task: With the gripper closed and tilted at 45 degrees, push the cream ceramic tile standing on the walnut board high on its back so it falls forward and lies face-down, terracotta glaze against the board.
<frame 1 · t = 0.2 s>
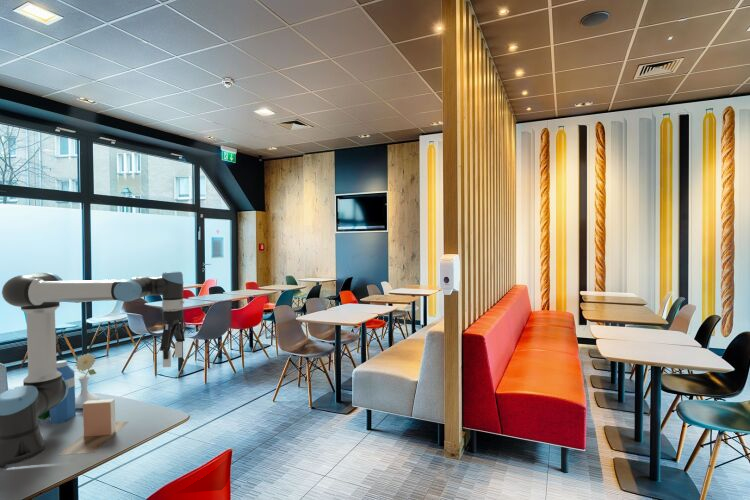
hand: (173, 362, 163), 28 cm above the table, tool pointing down, fingers open, 13 cm apart
water bottle: (63, 419, 174), on the table
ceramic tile: (99, 433, 158), point 1 cm above the table, touching walnut board
walnut board: (96, 438, 156), on the table
milk carton: (46, 415, 178), on the table
flower in vase: (86, 406, 188), on the table
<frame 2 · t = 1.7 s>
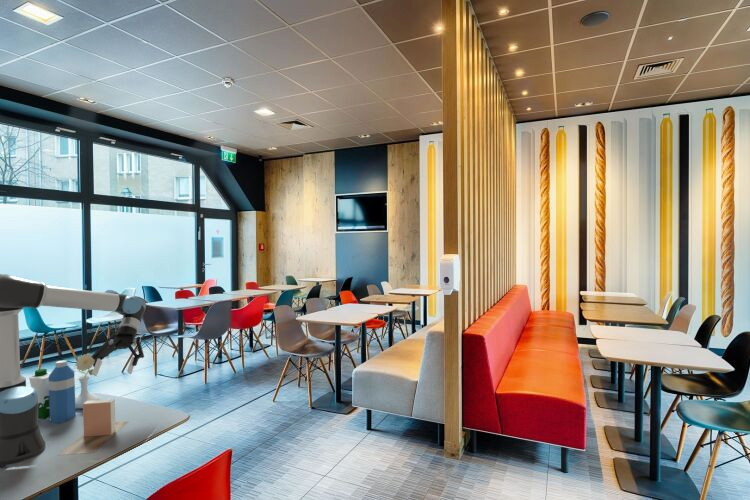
hand: (111, 373, 167), 22 cm above the table, tool tilted 45°, fingers open, 13 cm apart
nothing on the table moved.
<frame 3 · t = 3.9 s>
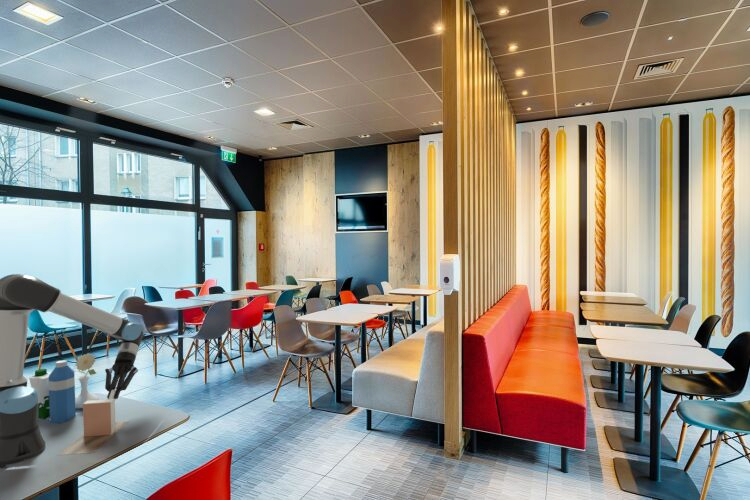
hand: (109, 406, 166), 9 cm above the table, tool tilted 45°, fingers closed
nothing on the table moved.
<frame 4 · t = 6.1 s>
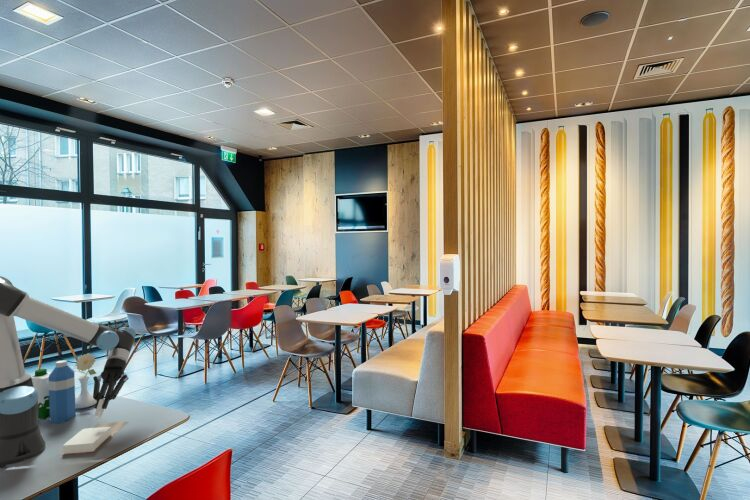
hand: (97, 417, 156), 9 cm above the table, tool tilted 45°, fingers closed
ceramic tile: (97, 431, 157), point 3 cm above the table, tilted 90°, touching walnut board
everything else where it was.
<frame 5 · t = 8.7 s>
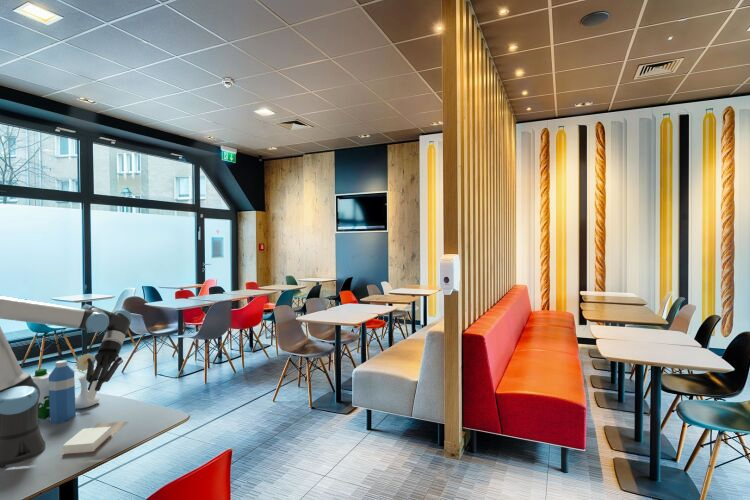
hand: (89, 398, 151), 17 cm above the table, tool tilted 45°, fingers closed
nothing on the table moved.
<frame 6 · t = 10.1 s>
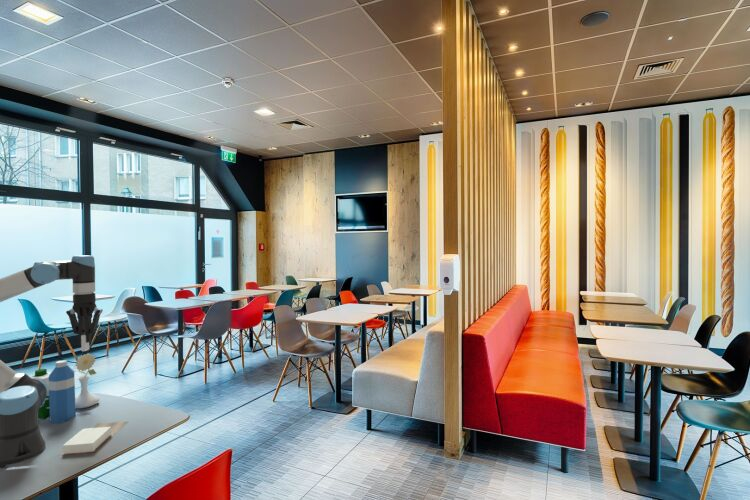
hand: (85, 350, 165), 32 cm above the table, tool pointing down, fingers closed
nothing on the table moved.
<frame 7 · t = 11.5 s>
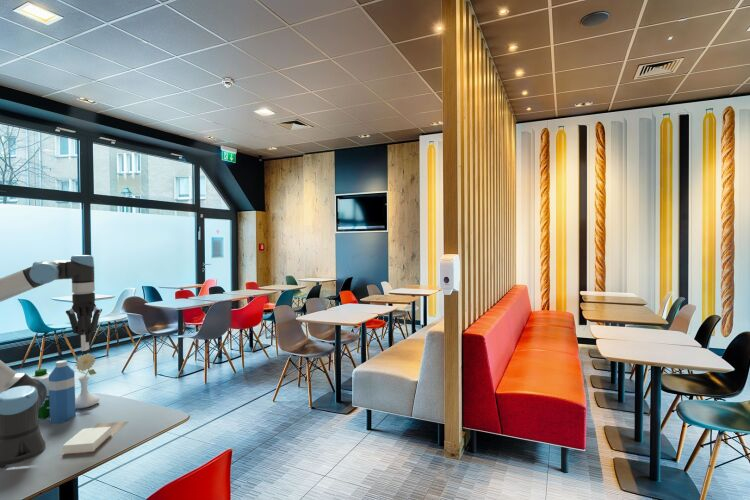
hand: (85, 349, 165), 32 cm above the table, tool pointing down, fingers closed
nothing on the table moved.
at the end: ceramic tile tilted 90°; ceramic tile touching walnut board; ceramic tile inside the target area (0.2 cm from its centre), point 2.6 cm above the table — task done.
